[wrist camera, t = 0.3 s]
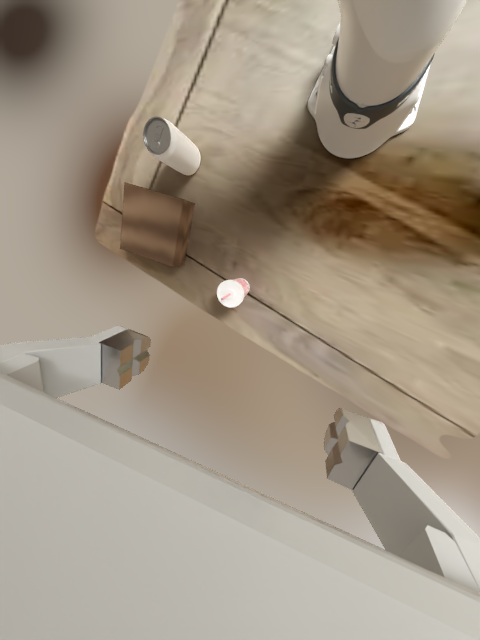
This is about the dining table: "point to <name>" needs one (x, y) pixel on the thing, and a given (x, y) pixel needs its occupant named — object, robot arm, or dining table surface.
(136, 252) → the riser block
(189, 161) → the can
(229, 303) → the beverage cup
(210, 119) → the dining table surface
